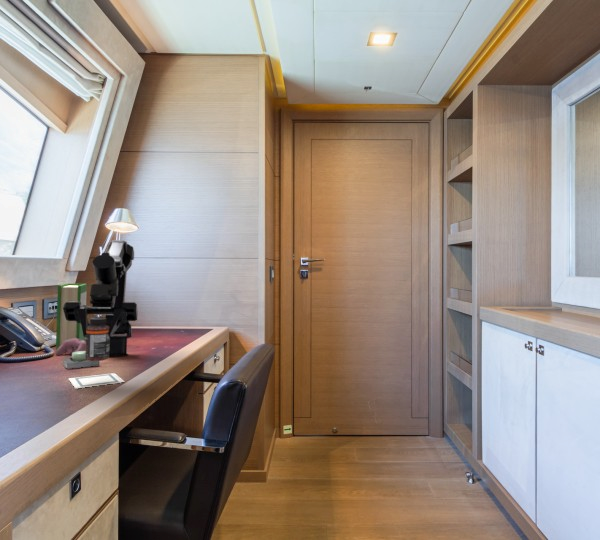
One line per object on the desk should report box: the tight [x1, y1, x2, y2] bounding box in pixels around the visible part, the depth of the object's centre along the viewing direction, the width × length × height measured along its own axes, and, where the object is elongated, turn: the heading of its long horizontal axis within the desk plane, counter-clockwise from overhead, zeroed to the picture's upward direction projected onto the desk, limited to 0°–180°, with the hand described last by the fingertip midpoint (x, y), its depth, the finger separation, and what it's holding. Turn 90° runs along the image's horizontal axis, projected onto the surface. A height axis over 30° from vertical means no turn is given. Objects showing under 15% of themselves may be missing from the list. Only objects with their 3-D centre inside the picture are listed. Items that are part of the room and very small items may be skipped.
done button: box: [71, 351, 86, 362], centre depth 132 cm, size 5×5×2 cm
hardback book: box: [55, 283, 88, 351], centre depth 160 cm, size 18×7×24 cm, turn 21°
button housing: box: [62, 356, 100, 370], centre depth 132 cm, size 9×9×2 cm
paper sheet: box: [68, 372, 126, 390], centre depth 114 cm, size 12×11×1 cm
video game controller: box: [55, 338, 86, 356], centre depth 145 cm, size 10×5×7 cm, turn 71°
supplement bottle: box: [85, 316, 110, 362], centre depth 114 cm, size 6×6×11 cm
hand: (96, 335), depth 113 cm, fingers closed on supplement bottle, 6 cm apart
